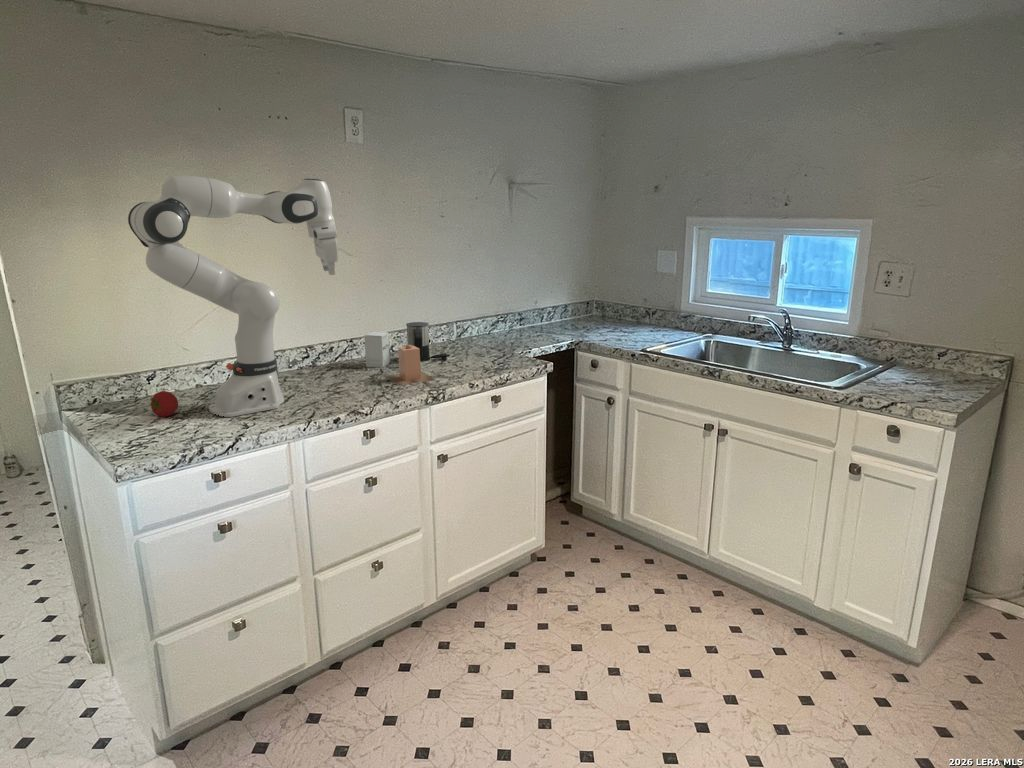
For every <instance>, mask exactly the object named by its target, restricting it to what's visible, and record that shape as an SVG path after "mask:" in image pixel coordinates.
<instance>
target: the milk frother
mask: <svg viewBox="0 0 1024 768" xmlns="http://www.w3.org/2000/svg"><path fill="white" fill-rule="evenodd" d="M429 324H430V323H429V322H426V321H425V322H424V321H413V322H407V323H406V324H405V325H406V338H407V340H406V341H407V345H412V346H415V347H417V348H419V349H420V363H421V362H425V361H426V362H427V361H429V360H431V359H442V360H443V359H444V360H447V359H448V358H449V357H451V355H450V354H449V353H446V352H443V353H439V354H435V355H431V356H430V346H429V345H430V344H429V343H430V341H429Z"/></svg>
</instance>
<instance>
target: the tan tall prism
mask: <svg viewBox="0 0 1024 768" xmlns="http://www.w3.org/2000/svg"><path fill="white" fill-rule="evenodd" d="M397 353H398V371H399V372H398V374H399V376H400V378H402V379H403V380H405V381H408V380H415V379H421V372H422V370H421V362H420V349H419V348H417V347H415V346H412V345H408V344H406V345H405V346H399V347H397Z"/></svg>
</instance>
